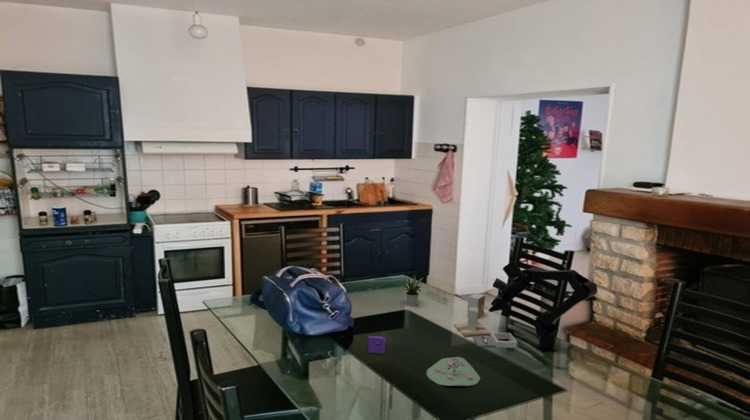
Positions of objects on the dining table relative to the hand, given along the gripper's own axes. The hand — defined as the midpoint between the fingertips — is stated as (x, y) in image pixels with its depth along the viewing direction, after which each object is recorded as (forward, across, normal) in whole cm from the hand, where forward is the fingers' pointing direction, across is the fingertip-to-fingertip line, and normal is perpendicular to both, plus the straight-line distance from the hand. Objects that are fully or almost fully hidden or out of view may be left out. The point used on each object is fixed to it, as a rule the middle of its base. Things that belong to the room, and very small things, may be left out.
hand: (490, 307), depth 227 cm
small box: (+15, -19, +2) cm, 24 cm away
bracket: (+39, +34, -22) cm, 56 cm away
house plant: (+39, -21, -23) cm, 50 cm away
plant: (+15, +44, +2) cm, 46 cm away
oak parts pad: (+14, +1, +3) cm, 14 cm away
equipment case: (+6, +10, +11) cm, 16 cm away
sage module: (+13, +1, +2) cm, 13 cm away
